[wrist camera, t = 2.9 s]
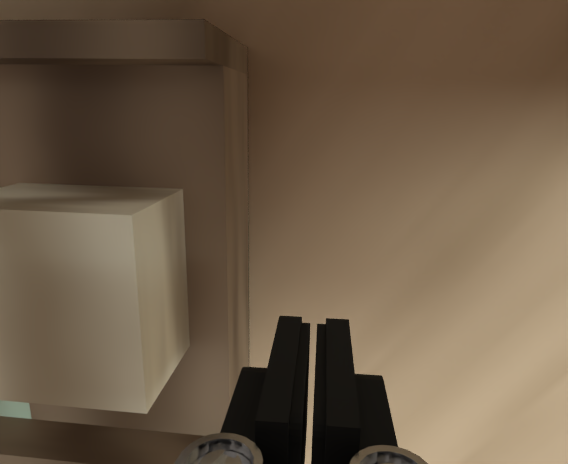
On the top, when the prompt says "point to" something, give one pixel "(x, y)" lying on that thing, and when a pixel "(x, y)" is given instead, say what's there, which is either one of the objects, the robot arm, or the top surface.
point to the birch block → (91, 294)
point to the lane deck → (138, 173)
